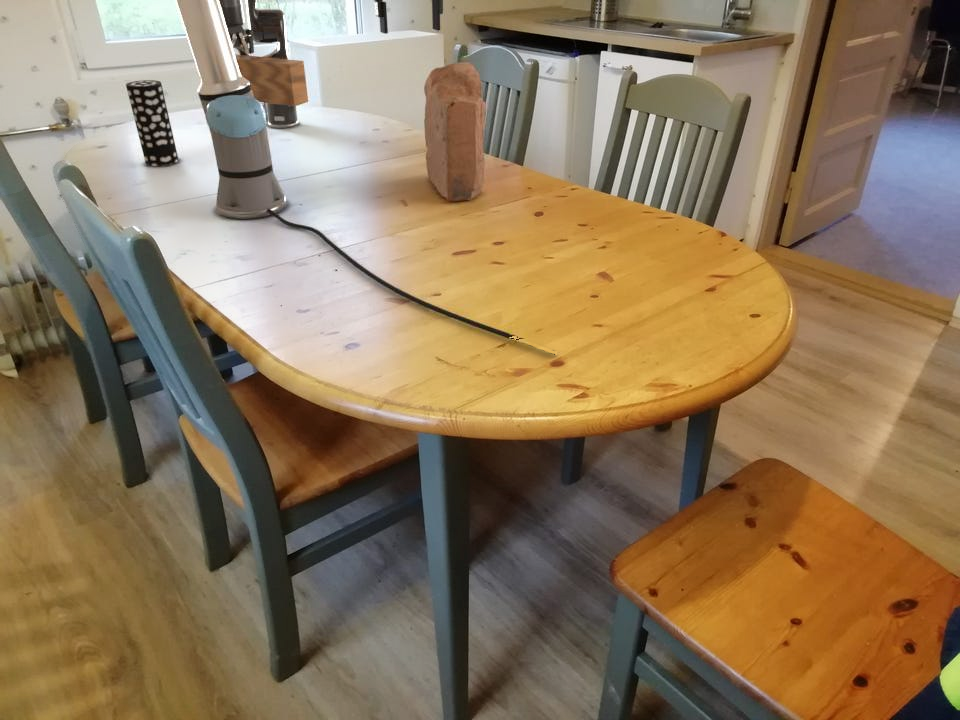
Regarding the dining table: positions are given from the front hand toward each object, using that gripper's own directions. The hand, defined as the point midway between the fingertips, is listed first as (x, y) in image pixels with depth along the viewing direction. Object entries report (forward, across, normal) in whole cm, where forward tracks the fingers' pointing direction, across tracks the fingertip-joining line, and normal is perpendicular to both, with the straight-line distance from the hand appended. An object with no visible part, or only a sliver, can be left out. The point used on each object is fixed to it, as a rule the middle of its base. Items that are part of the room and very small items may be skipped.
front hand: (410, 31), depth 164 cm
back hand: (+13, +34, -38) cm, 53 cm away
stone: (+34, -3, +17) cm, 38 cm away
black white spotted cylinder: (+24, +58, -38) cm, 73 cm away
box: (+19, +29, -32) cm, 47 cm away
